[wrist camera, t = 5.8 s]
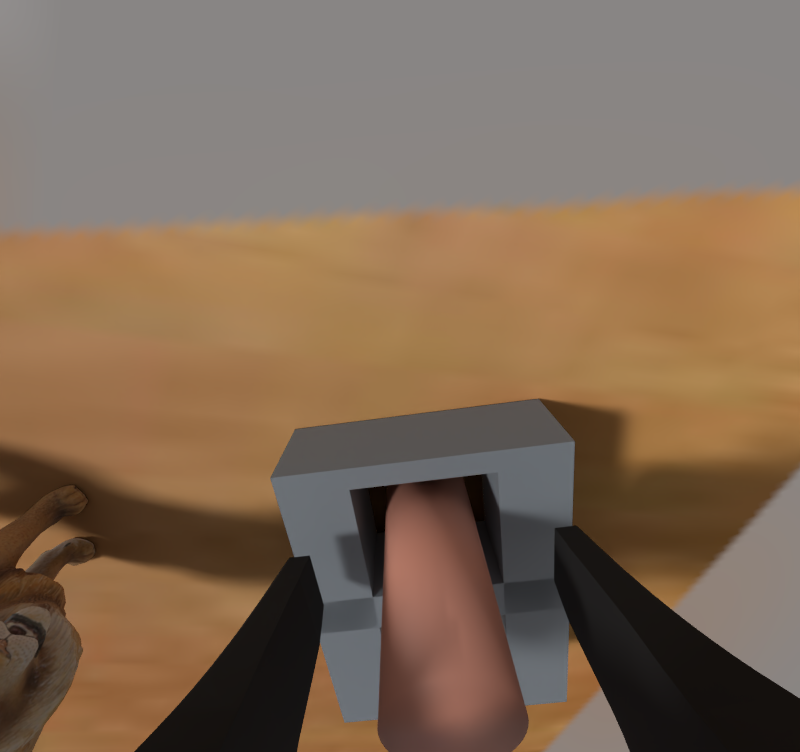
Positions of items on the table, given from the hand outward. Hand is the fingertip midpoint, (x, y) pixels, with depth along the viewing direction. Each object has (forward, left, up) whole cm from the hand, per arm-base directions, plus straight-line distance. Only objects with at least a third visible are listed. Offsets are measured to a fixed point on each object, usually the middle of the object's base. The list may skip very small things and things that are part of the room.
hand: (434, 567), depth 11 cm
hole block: (-3, 0, -4) cm, 5 cm away
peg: (0, 0, -4) cm, 4 cm away
